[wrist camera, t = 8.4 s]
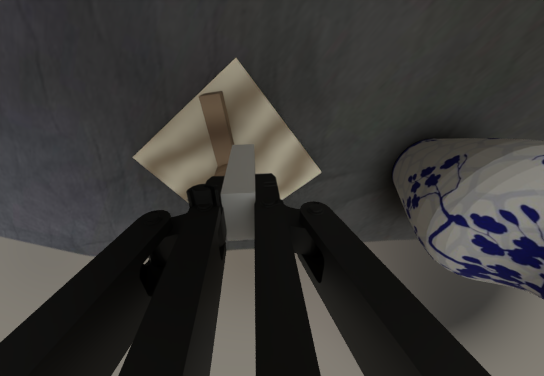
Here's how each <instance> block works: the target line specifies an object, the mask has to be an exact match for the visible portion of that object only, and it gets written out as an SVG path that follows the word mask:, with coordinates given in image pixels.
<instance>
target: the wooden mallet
mask: <svg viewBox="0 0 544 376" xmlns="http://www.w3.org/2000/svg"><path fill="white" fill-rule="evenodd" d="M199 100H200V104H201V107H202V111H203V115H204V118H205V122H206V126H207V129H208V133H209V137H210V140H211V144H212V148H213V151H214V155H215V158H216V162H217V169H216V172H215V175H214V176H225V173H226V169H227V165H228V161H229V157H230V153H231V149H232V145H234V141H233V137H232V132H231V128H230V123H229V118H228V114H227V109H226V105H225V100H224V96H223V91H217V92H211V93H204V94H202V95H200V96H199Z"/></svg>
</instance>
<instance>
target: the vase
mask: <svg viewBox="0 0 544 376" xmlns="http://www.w3.org/2000/svg"><path fill="white" fill-rule="evenodd" d="M392 179H393V183H394V185H395V187H396V189H397V192H398V194H399V197H400V199H401V202H402V204H403V207H404V209H405V212H406V214H407V217H408V219H409V221H410V223H411V225H412V227H413V229H414V231H415V233H416V235H417V237H418V239H419V241H420V243H421V244H422V245H423V247H424V248H425V250H426V251H427V252H428V253H429V255H430V256H431V257H432V258H433V259H434V260H435V261H436V262H438V263H439V264H440V265H442V266H443V267H445V268H446V269H447V270H449V271H452V272H454V273H456V274H458V275H460V276H463V277H466V278H470V279H473V280H478V281H484V282H489V283H495V284H500V285H505V286H509V287H513V288H517V289H520V290H524V291H526V292H529V293H532V294H534V295H537V296H538V297H541V298H542V299H544V141H539V140H527V139H502V138H454V139H425V140H422V141H419V142H417V143H415V144H413V145H411V146H410V147H408V148H407V149H406V150H405V151H404V152H403V153H402V154H401V155H400V156H399V157H398V159H397V161H396V162H395V164H394V167H393V171H392Z"/></svg>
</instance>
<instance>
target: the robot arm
mask: <svg viewBox="0 0 544 376" xmlns="http://www.w3.org/2000/svg"><path fill="white" fill-rule="evenodd" d="M186 193H187V198H188V202H189V206H190V208H189V211H188V213H186V214H183V215H179V216H175V217H171V215H170V213H169V212H167V211H164V210H156V211H151V212H149V213H146V214H144V215H142V216H141V217H140V218H138V219H137V220H136V221H135V222H134V223H133V224H132V225H130V226H129V227H128V228H127V229H126V230H125V231H124V232H123V233H122V234H120V235H119V236H118V237H117V238H116V239H115V240H114V241H113V242H112V243H110V244H109V245H108V246H107V247H106V248H105V249H104V250H103V251H102V252H100V253H99V254H98V255H97V256H96V257H95V258H94V259H93V260H92V261H90V262H89V263H88V264H87V265H86V266H85V267H84V268H83V269H82V270H80V271H79V272H78V273H77V274H76V275H75V276H74V277H73V278H72V279H70V280H69V281H68V282H67V283H66V284H65V285H64V286H63V287H62V288H61V289H59V290H58V291H57V292H56V293H55V294H54V295H53V296H52V297H51V298H49V299H48V300H47V301H46V302H45V303H44V304H43V305H42V306H41V307H40V308H38V309H37V310H36V311H35V312H34V313H33V314H31V315H30V316H29V317H28V318H27V319H26V320H25V321H24V322H23V323H21V324H20V325H19V326H18V327H17V328H16V329H15V330H14V331H13V332H12V333H10V334H9V335H8V336H7V337H6V338H5V339H4V340H3V341H2V342H0V376H111V375H112V373H113V372H114V370H115V369H116V367H117V366H118V364H119V363H120V361H121V360H122V358H123V356H124V355H125V353H126V352H127V350H128V349H129V347H130V345H131V344H132V345H131V347H130V350H129V352H128V354H127V357H126V359H125V361H124V364H123V366H122V368H121V371H120V373H119V376H209V375H210V367H211V361H212V353H213V346H214V338H215V331H216V323H217V316H218V308H219V301H220V294H221V286H222V279H223V271H224V263H225V256H226V242H225V240H226V235H227V241H236V240H253V239H255V326H256V327H255V334H256V376H321V375H320V370H319V366H318V361H317V357H316V352H315V347H314V343H313V338H312V334H311V329H310V324H309V320H308V315H307V311H306V306H305V301H304V297H303V292H302V288H301V282H300V278H299V273H298V268H297V264H296V259H295V255H294V253H297V254H298V258H299V259H300V261H301V263H302V265H303V267H304V268H305V270H306V272H307V274H308V276H309V277H310V279H311V281H312V283H313V285H314V286H315V288H316V290H317V292H318V294H319V295H320V297H321V299H322V301H323V302H324V304H325V306H326V308H327V310H328V312H329V313H330V315H331V317H332V319H333V320H334V322H335V324H336V326H337V327H338V329H339V331H340V333H341V335H342V337H343V338H344V340H345V342H346V344H347V346H348V347H349V349H350V351H351V353H352V354H353V356H354V358H355V360H356V362H357V364H358V365H359V367H360V369H361V371H362V372H363V374H364V376H491V375H490V374H489V373H488V372H487V371H486V370H485V369H484V368H483V367H482V366H481V365H480V364H479V363H478V361H477V360H476V359H475V358H474V357H473V356H472V355H471V354H470V353H469V352H468V351H467V350H466V349H465V348H464V347H463V346H462V345H461V344H460V343H459V342H458V341H457V340H456V339H455V338H454V336H453V335H451V333H450V332H449V331H448V330H447V329H446V328H445V327H444V326H443V325H442V324H441V323H440V322H439V321H438V320H437V319H436V318H435V317H434V316H433V315H432V314H431V313H430V312H429V311H428V309H426V307H425V306H424V305H423V304H422V303H421V302H420V301H419V300H418V299H417V298H416V297H415V296H414V295H413V294H412V293H411V292H410V291H409V290H408V289H407V288H406V287H405V286H404V285H403V284H402V283H401V281H400V280H399V279H398V278H397V277H396V276H395V275H394V274H393V273H392V272H391V271H390V270H389V269H388V268H387V267H386V266H385V265H384V264H383V263H382V262H381V261H380V260H379V259H378V258H377V257H376V256H375V254H374V253H373V252H372V251H371V250H370V249H369V248H368V247H367V246H366V245H365V244H364V243H363V242H362V241H361V240H360V239H359V238H358V237H357V236H356V235H355V234H354V233H353V232H352V231H351V230H350V229H349V227H348V226H347V225H346V224H345V223H344V222H343V221H342V220H341V219H340V218H339V217H338V216H337V215H336V214H335V213H334V212H333V211H332V210H331V209H330V208H329V207H328V206H327V205H325V204H323V203H320V202H307V203H304V204H303V205H302V206H301V208H300V209H295V208H290V207H288V206H286V205H284V204H283V201H282V200H281V199H280V195H279V190H278V185H277V180H276V177H275V176H274V175H273V174H272V173H265V174H255V154H254V144H245V145H232V149H231V153H230V157H229V161H228V165H227V169H226V173H225V176H212V177H210V178H209V179H208V180H207V181H206V184H198V185H195V186H192V187H191V188H189V189H188V190H187V191H186ZM147 258H149V260H148V262H147V263H146V264H143V263H144V262H145V260H146V259H147ZM132 342H133V343H132Z"/></svg>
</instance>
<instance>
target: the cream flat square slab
mask: <svg viewBox="0 0 544 376" xmlns="http://www.w3.org/2000/svg"><path fill="white" fill-rule="evenodd" d="M217 91H223V96H224V100H225V105H226V109H227V114H228V118H229V123H230V128H231V132H232V137H233V141H234V145H245V144H254V154H255V174H265V173H272V174H273V175H274V176H275V177H276V180H277V185H278V190H279V195H280V199H281V200H283V199H284V198H285V197H287V196H288V195H290V194H291V193H293V192H294V191H296V190H297V189H298V188H300V187H301V186H303V185H304V184H306V183H307V182H308V181H310V180H311V179H313V178H314V177H316V176H317V175H319V174H320V173H321V170H320V169H319V168H318V166H317V165H316V164H315V162H314V161H313V160H312V158H311V157H310V156H309V154H308V153H307V152H306V150H305V149H304V148H303V146H302V145H301V144H300V142H299V141H298V140H297V138H296V137H295V136H294V134H293V133H292V131H291V130H290V129H289V127H288V126H287V125H286V123H285V122H284V121H283V119H282V118H281V117H280V115H279V114H278V113H277V111H276V110H275V109H274V107H273V106H272V105H271V103H270V102H269V101H268V99H267V98H266V97H265V95H264V94H263V93H262V91H261V90H260V89H259V87H258V86H257V85H256V83H255V82H254V81H253V79H252V78H251V77H250V75H249V74H248V73H247V71H246V70H245V69H244V67H243V66H242V65H241V63H240V62H239V61H238V59H237V58H235V59H234V60H233V61H232V62H231V63H230V64H229V65H228V66H227V67H226V68H225V69H224V70H222V71H221V72H220V73H219V74H218V75H217V76H216V77H215V78H214V79H213V80H212V81H211V82H210V83H209V84H208V85H207V86H206V87H205V88H204V89H203V90H202V91H201V92H200V93H199V94H198V95H197V96H196V97H195V98H193V99H192V100H191V101H190V102H189V103H188V104H187V105H186V106H185V107H184V108H183V109H182V110H181V111H180V112H179V113H178V114H177V115H176V116H175V117H174V118H173V119H172V120H171V121H170V122H169V123H168V124H167V125H166V126H165V127H163V128H162V129H161V130H160V131H159V132H158V133H157V134H156V135H155V136H154V137H153V138H152V139H151V140H150V141H149V142H148V143H147V144H146V145H145V146H144V147H143V148H142V149H141V150H140V151H139V152H138V153H137V154H136V155H134V156H133V158H134V159H135V160H136V161H137V162H139V163H140V164H141V165H142V166H144V167H145V168H146V169H147V170H149V171H150V172H151V173H152V174H154V175H155V176H156V177H157V178H158V179H160V180H161V181H162V182H163V183H165V184H166V185H167V186H168V187H170V188H171V189H172V190H173V191H175V192H176V193H177V194H178V195H179V196H181V197H182V198H183V199H184V200H186V201H187V202H188V198H187V193H186V191H187V190H188V189H189V188H191V187H192V186H195V185H198V184H206V181H207V180H208V179H209V178H210V177H212V176H214V175H215V172H216V169H217V162H216V158H215V155H214V151H213V148H212V144H211V140H210V137H209V133H208V129H207V126H206V122H205V118H204V115H203V111H202V107H201V104H200V100H199V96H200V95H202V94H204V93H211V92H217ZM188 203H189V202H188Z"/></svg>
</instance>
